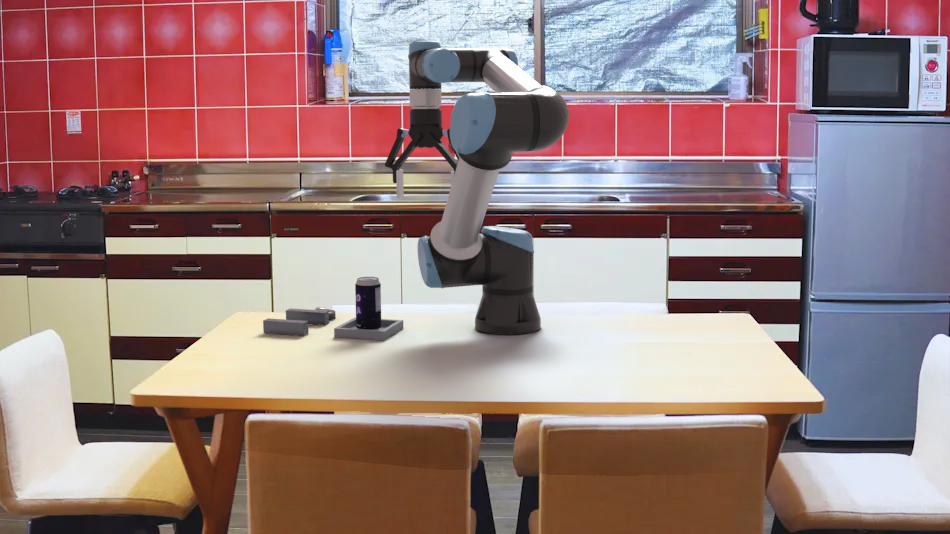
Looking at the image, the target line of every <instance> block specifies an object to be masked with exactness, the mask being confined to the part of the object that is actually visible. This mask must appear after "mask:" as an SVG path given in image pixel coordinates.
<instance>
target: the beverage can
mask: <svg viewBox="0 0 950 534" xmlns="http://www.w3.org/2000/svg"><path fill="white" fill-rule="evenodd" d="M354 285H355V287H354V288H355V289H354V291H355V317H356V327H357V328H358V329H368V330H378V329H380V328H381V319H382V296H381V295H382V292H381V291H382V289H381V288H382V284H381V281H380V278H379V277H378V276H361V277H357V278H356V282H355V284H354Z"/></svg>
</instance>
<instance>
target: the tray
mask: <svg viewBox="0 0 950 534" xmlns="http://www.w3.org/2000/svg"><path fill="white" fill-rule="evenodd" d="M402 330H404V319H391V318H389V319H388V318H381V328H380V329H378V330H368V329H358V328H357V327H356V316H355V317H353V318H351V319H350V320H347V321H345V322H344V323H342V324H340V325H338V326H336V327H333V337H334V338H342V339H359V340H372V341H374V340H375V341H386V340H387V339H389V338H392V336H394V335H396V334H397V333H399V332H400V331H402Z"/></svg>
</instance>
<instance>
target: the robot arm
mask: <svg viewBox="0 0 950 534" xmlns="http://www.w3.org/2000/svg"><path fill="white" fill-rule="evenodd" d="M407 57H408V77H409V80H408V81H409V84H408V85H409V106H410V107H411V109H409V125H410V126H409V129H406V128H404V127H400V128H397V130H396V138H395V141H394V142H393V145H392V147H391V149H390V151H389V154H388V156H387V158H386V161H385V163H384V166H385V167H386V168H389V169H391V170H392V182H393V184H396V198H399V199H400V198H403V197H404V194H405V193H404V191H405V190H404V169H402V166H403V165H404V164H405V162H406V161H407V160H408V158H409V157H410V156H411V155H412V154H413V152H414V150H415V149H417V148H418V149H419V148H420V149H422V148H427V149H428V148H429V149H432V148H435V149H436V150H437V151H438V152H439V153H440V154H441V156H442V157H443V158H444V159H445V160H446V161H447V163H448V164H449V165H450V168H452V169H453V170H450V189H449V193H448V196H447V201H446V204H445V206H444V211H443V214H442V217H441V221H439V222H437V223H436V224H435V225H434V226H433V227H432V229H431V232H430V235H424V236H421V237H419V238H418V241H417V259H418V267H419V271H420V275H421V279H422V281H423V283H424V285H425V286H427V287H428V288H429V289H430V288H431V289H435V288H436V289H437V288H438V289H445V288H454V287H455V288H459V287H460V288H461V287H471V286H482V290H481V291H482V294H481V298H480V302H479V305H478V308H477V311H476V315H475V317H474V329H475V330H476V331H479V332H481V333H482V332H483V333H486V334H491V335H492V334H493V335H505V336H506V335H507V336H508V335H523V334H529V333H534V332H537V331H539V330H540V329H541V328H542V325H541V324H542V323H541V315H540V312H539V309H538V306H537V304H536V303H537V302H536V300H535V297H534V253H535V251H534V250H535V249H534V240H533V235H532V234H531V233H530V232H529V231H527V230H523V229H519V228H513V227H507V226H495V225H488V226H485V225H484V226H483V221H484V219H485V216H486V213H487V210H488V207H489V203H490V202H491V201H490V200H491V198H492V194H493V191H494V190H495V189H494V188H495V185H496V183H497V179H498V176H499V173H500V170H503V169H505V168H506V167H507V166H508V165H509V164H510V162H511V160H512V156H513V154H514V153H520V152H521V153H522V152H537V151H542V150H545V149H548V148H551V147H552V146H553V145H554V144H556V143H557V142H558V141H559V140H560V139H561V138H562V137H563V135H564V134H565V132H566V130H567V127H568V125H569V120H570V112H569V106H568V105H567V102H566V101H565V99H564V97H563V96H562V95H561V94H560V93H559V92H557V91H556V90H555V89H554V88H552V87H550V86H546V85H541V84H540V83H539V82H537V81H536V80H535V79H534V78H532V76H530V75H529V74H528V73H527V72H525V71H524V70H523V69H522V68H520V67H519V59H518V57H517V54H516V52H515V50H513V49H511V48H502V47H497V48H448V47H442V46H441V43H440V42H439V41H437V40H415V41H414V40H413V41H411V42H410V43H409V46H408V56H407ZM442 83H443V84H444V83H485V84H486V85H487V86H488V87H489V88H491V90H492V91H494V92H487V91H478V92H470V93H466V94H464V95H461V97H459V98H458V99H457V100H456V102H455V103H454V106H453V108H452V111H451V115H450V120H449V122H450V126H449V128H448V129H443V126H442V125H443V118H442V117H443V116H442V115H443V114H442V111H443V110H442V109H441V108H440V107H441V106H442ZM408 136H409V137H410V139H411V141H410V142H409V143H408V144H407V146H406V147H405V149H404V150H403V151H402V153H401V154H400V155H399V152H400V150H401V148H402V145H403V143H404V141H405V139H406V138H407V137H408ZM443 136H445V138H446V139H447V140H448V143H449V144H450V147H451V148H452V150H453V151H452V152H453V153H454V155H455V157H454V156H453V154H452V153H451V152H450V151H449V149H448V148H447V147H446V145H445V144H444V142H443V141H442V139H443ZM398 155H399V157H398ZM397 157H398V158H397ZM396 159H397V160H396ZM481 228H482V229H481ZM480 232H481V233H480Z"/></svg>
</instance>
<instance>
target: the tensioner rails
mask: <svg viewBox="0 0 950 534" xmlns="http://www.w3.org/2000/svg"><path fill="white" fill-rule="evenodd" d="M336 317H337V315H336V310H334V309H329V308H326V307H325V306H317V307H315V309H305V308H288V309H286V310H285V318H284V319H283V318H268V317H267V318H266V319H264V320H262V325H263V328H262V329H263V334H264V333H265V335H278V334H279V335H281V336H293V335H298V336H297V337H305V336H307V335H308V334H309V325H311V324H320V325H319V326H326V324H327V325H328V323H329V324H330V322H331V321H334V320H335V319H336ZM330 320H331V321H330ZM279 335H278V336H279Z"/></svg>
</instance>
